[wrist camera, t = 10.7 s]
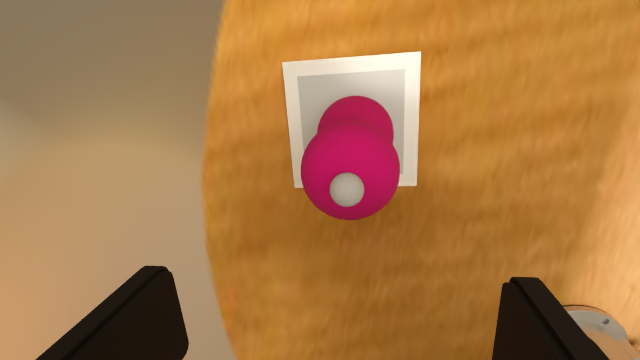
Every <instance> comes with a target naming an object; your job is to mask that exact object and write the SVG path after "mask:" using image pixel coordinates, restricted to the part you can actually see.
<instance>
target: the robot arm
mask: <svg viewBox="0 0 640 360" xmlns="http://www.w3.org/2000/svg"><path fill="white" fill-rule="evenodd" d="M188 344H189V342H188V337H187V333H186V328H185V324H184V320H183V316H182V312H181V308H180V303H179V299H178V295H177V291H176V287H175V282H174V278H173V275H172V273H171V272H169V271H168V269H167V268H166V267H164V266H144V267H143V268H141V269H140V270H139V271H138V272H136V273H135V274H134V275H133V276H132V277H131V278H130V279H128V280H127V281H126V282H125V283H124V284H123V285H122V286H120V287H119V288H118V289H117V290H116V291H115V292H113V293H112V294H111V295H110V296H109V297H108V298H106V299H105V300H104V301H103V302H102V303H101V304H99V305H98V306H97V307H96V308H95V309H94V310H92V311H91V312H90V313H89V314H88V315H87V316H86V317H85V318H83V319H82V320H81V321H80V322H79V323H77V325H75V326H74V327H73V328H72V329H71V330H69V331H68V332H67V333H66V334H65V335H64V336H62V337H61V338H60V339H59V340H58V341H57V342H56V343H54V344H53V345H52V346H51V347H50V348H49V349H47V350H46V351H45V352H44V353H43V354H42V355H40V356H39V357H38V358H37V359H36V360H182V359H183V358H184V356H185V354H186V353H187V350H188ZM492 360H640V351H638V350H637V349H635V348H633V346H632V345H631V344H630V343H629V340H628V335H627V333H626V331H625V329H624V328H623V327H622V326H621V325H620V324H619V323H618V322H617V321H616V320H615V319H614V318H613V317H612V316H611V315H609V314H607V313H605V312H604V311H601V310H598V309H596V308H592V307H586V306H567V307H563V306H562V305H561V304H560V303H559V301H558V300H557V299H556V298H555V297H554V295H553V294H552V293H551V292H550V291H549V290H548V288H547V287H546V286H545V285H544V284H543V282H542V281H541V280H540V279H539V278H534V277H512V278H511V279H510V281H509V283H508V282H505V283H504V284H503V286H502V291H501V298H500V306H499V313H498V320H497V327H496V334H495V341H494V348H493V356H492Z"/></svg>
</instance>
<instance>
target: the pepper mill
mask: <svg viewBox="0 0 640 360" xmlns="http://www.w3.org/2000/svg"><path fill="white" fill-rule="evenodd" d="M393 140H394V130H393V124H392V120H391V118H390V116H389V114H388V112H387V111H386V110H385V108H384V107H383V106H382V105H380V104H379V103H378V102H376V101H375V100H373V99H370V98H368V97H364V96H348V97H344V98H341V99H339V100H337V101H336V102H334V103H333V104H331V105H330V106H329V107H328V108H327V109H326V111H325V112H324V113H323V115H322V117H321V119H320V122H319V125H318V129H317V134H316V135H315V136H314V137H313V138H312V140H311V141H310V142H309V144H308V145H307V147H306V149H305V151H304V154H303V157H302V162H301V180H302V184H303V187H304V190H305V192H306V194H307V195H308V197H309V199H310V200H311V201H312V202H313V204H314V205H315V206H316V207H317V208H319V209H320V210H321V211H323V212H324V213H326V214H328V215H330V216H332V217H335V218H338V219H344V220H357V219H361V218H365V217H368V216H370V215H373V214H375V213H376V212H378V211H379V210H381V209H382V208H383V207H384V206H385V205H386V204H388V202H389V201H390V200H391V198H392V197H393V195H394V193H395V191H396V189H397V186H398V183H399V177H400V162H399V157H398V153H397V151H396V149H395V148H394V146H393Z"/></svg>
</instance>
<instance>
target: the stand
mask: <svg viewBox="0 0 640 360" xmlns="http://www.w3.org/2000/svg"><path fill="white" fill-rule="evenodd" d="M420 62H421V52H409V53H396V54H383V55H370V56H358V57H345V58H332V59H319V60H306V61H293V62H282V65H283V75H284V85H285V95H286V106H287V116H288V126H289V136H290V146H291V156H292V167H293V177H294V187H295V188H304V187H303V184H302V180H301V162H302V157H303V154H304V151H305V149H306V147H307V145H308V144H309V142H310V141H311V140H312V138H313V137H314V136H315V135H316V134H317V129H318V125H319V122H320V119H321V117H322V115H323V113H324V112H325V111H326V109H327V108H328V107H329V106H330V105H331V104H333V103H334V102H336V101H337V100H339V99H341V98H344V97H348V96H364V97H368V98H370V99H373V100H375V101H376V102H378V103H379V104H380V105H382V106H383V107H384V108H385V110H386V111H387V112H388V114H389V116H390V118H391V120H392V124H393V130H394V140H393V146H394V148H395V149H396V151H397V153H398V157H399V162H400V177H399V183H398V186H417V158H418V126H419V94H420Z"/></svg>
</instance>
